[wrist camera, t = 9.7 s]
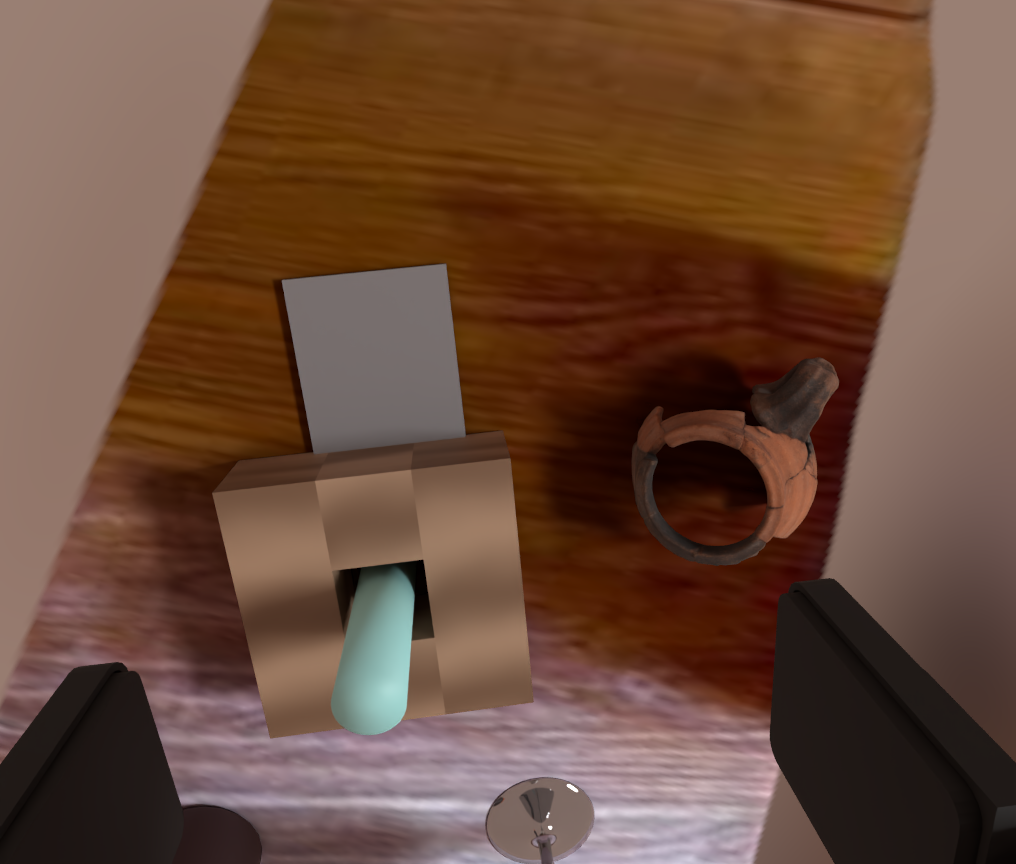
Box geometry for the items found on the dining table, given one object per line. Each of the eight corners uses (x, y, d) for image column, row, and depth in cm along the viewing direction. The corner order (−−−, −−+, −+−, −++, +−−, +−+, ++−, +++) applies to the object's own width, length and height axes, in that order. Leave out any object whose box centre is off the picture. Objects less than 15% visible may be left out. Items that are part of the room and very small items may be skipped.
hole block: (238, 460, 37) (212, 493, 33) (502, 430, 38) (510, 458, 34) (288, 683, 41) (270, 738, 37) (524, 652, 42) (533, 702, 38)
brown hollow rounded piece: (760, 546, 42) (739, 617, 35) (627, 457, 44) (582, 508, 37) (894, 382, 36) (902, 428, 29) (734, 289, 38) (705, 311, 31)
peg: (359, 541, 39) (325, 677, 28) (413, 534, 39) (401, 667, 28) (367, 589, 40) (337, 739, 28) (420, 582, 40) (411, 729, 29)
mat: (283, 279, 34) (281, 280, 34) (445, 263, 35) (445, 264, 35) (318, 469, 38) (317, 472, 37) (467, 452, 38) (467, 454, 38)
